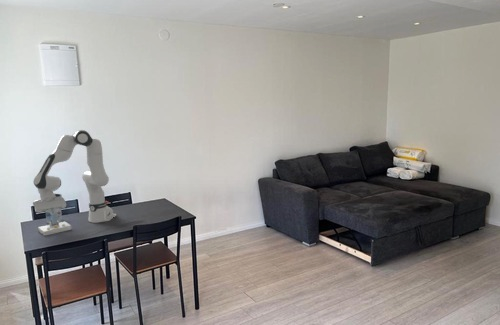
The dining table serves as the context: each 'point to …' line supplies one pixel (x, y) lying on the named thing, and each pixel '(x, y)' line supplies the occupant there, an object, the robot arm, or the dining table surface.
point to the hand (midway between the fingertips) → (53, 214)
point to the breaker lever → (54, 219)
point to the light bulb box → (49, 216)
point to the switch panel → (54, 228)
